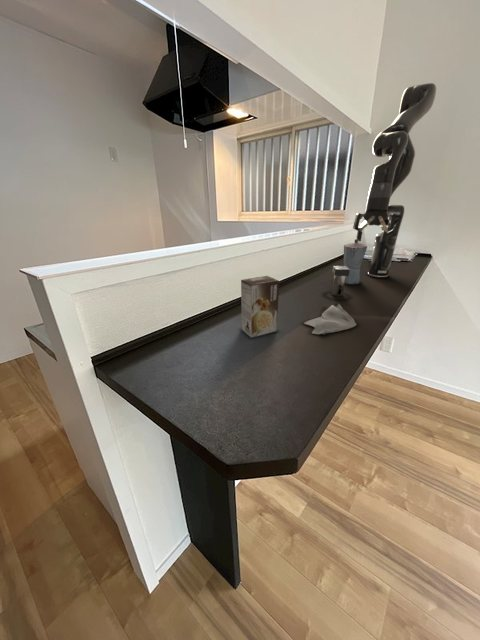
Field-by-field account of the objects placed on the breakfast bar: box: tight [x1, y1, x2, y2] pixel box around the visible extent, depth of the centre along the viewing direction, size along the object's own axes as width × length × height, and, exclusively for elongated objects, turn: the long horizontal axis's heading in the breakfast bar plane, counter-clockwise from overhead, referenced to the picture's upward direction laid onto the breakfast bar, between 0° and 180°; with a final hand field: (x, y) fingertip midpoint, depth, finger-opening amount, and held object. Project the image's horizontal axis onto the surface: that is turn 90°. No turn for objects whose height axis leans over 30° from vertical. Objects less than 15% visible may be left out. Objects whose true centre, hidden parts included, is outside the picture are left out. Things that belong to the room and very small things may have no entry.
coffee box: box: [240, 275, 280, 339], centre depth 77 cm, size 9×6×16 cm
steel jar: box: [330, 265, 350, 297], centre depth 104 cm, size 7×5×11 cm
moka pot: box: [343, 238, 368, 285], centre depth 120 cm, size 10×15×20 cm, turn 158°
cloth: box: [303, 303, 357, 336], centre depth 86 cm, size 26×14×2 cm, turn 139°
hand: (370, 241), depth 105 cm, fingers open, 8 cm apart
